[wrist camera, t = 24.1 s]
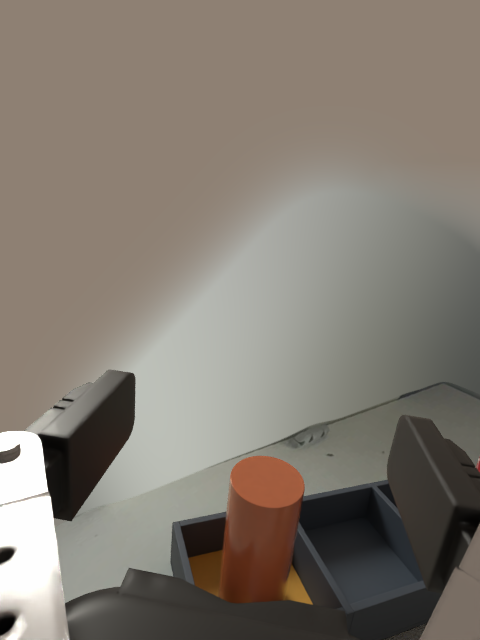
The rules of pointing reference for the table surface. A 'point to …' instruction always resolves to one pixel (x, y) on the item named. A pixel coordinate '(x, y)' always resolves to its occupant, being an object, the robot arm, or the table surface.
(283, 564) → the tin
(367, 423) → the table surface
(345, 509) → the gray storage bin
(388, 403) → the table surface
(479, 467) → the soda can
